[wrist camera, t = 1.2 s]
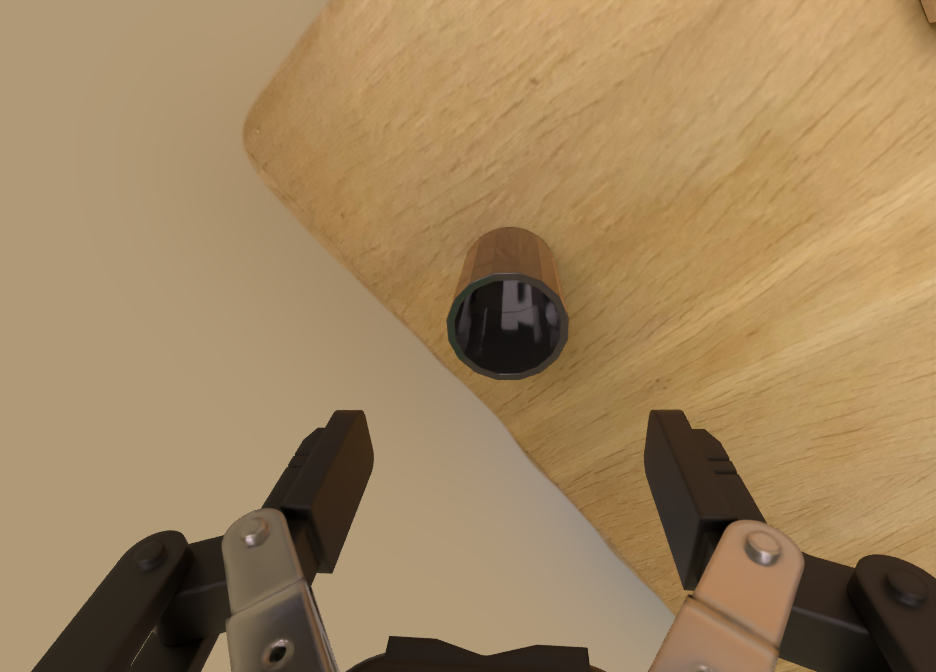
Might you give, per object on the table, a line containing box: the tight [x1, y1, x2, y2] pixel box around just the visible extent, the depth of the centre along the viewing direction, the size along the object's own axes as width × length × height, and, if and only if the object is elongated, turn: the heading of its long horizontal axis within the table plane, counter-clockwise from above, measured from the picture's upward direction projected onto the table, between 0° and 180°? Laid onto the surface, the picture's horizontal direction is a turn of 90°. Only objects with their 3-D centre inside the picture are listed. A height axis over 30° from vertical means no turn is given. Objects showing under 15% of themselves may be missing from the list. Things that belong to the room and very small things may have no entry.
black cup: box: [447, 227, 569, 380], centre depth 26 cm, size 6×6×8 cm
